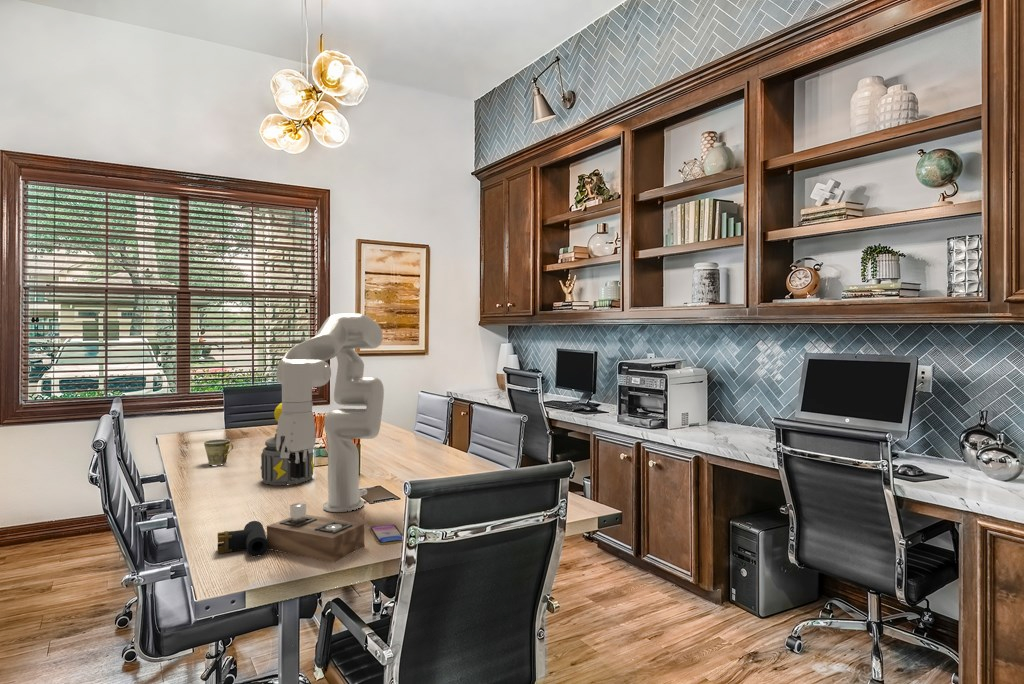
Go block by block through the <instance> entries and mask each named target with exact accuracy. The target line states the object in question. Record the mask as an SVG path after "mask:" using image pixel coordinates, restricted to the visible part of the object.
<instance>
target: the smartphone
mask: <svg viewBox="0 0 1024 684" xmlns="http://www.w3.org/2000/svg"><path fill="white" fill-rule="evenodd" d="M370 530H371V531H370ZM369 531H370V533H371V534H372V536H373V535H374V536H373V537H374V539H375V540H376V542H377V544H378V545H379V544H380V545H379V546H385V545H387V546H388V545H394V544H401V542H402V535H403V533H402V532H401V531H400V529H399V528H398V526H396V525H395V524H383V525H375V526H370V527H369ZM402 543H403V542H402Z"/></svg>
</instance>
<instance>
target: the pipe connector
mask: <svg viewBox="0 0 1024 684" xmlns="http://www.w3.org/2000/svg"><path fill="white" fill-rule="evenodd" d="M243 549H245V550H246V551H247V554H248V555H249V556H250V557H253V556H255V557H259V556H258V555H261V556H264V555H265V554H266V553H267V552H268V550H269V549H268V541H267V534H266V531H265V529H264V525H263V523H262V522H260V521H258V520H252V521H248V523H247V524H245V525H244V527H243V529H239V530H229V531H228V530H226V531H222V532H217V554H222V553H223V554H224V552H226V553H230V552H236V551H235V550H237V551H244V550H243Z"/></svg>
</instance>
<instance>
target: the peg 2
mask: <svg viewBox="0 0 1024 684" xmlns="http://www.w3.org/2000/svg"><path fill="white" fill-rule="evenodd" d="M341 527H342V525H340V524H331V525H328V526H326V529H329V530H333V531H334V530H337V529H339V528H341Z"/></svg>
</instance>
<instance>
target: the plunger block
mask: <svg viewBox="0 0 1024 684" xmlns="http://www.w3.org/2000/svg"><path fill="white" fill-rule="evenodd" d="M331 524H340V525H342V527H341V528H339V529H337V530H334V531H333V530H329V529H326V526H328V525H331ZM266 538H267V541H268V550H270V549H273V550H272V551H274V550H278V551H277V552H279V551H281V552H280V553H284V552H286V553H285V554H289V553H290V554H291V555H296V556H300V557H305V558H309V559H314V560H319V559H320V560H321V561H324V562H330V563H334V562H337V561H338V560H340V559H344V558H345V557H347V556H349V555H350V553H351V554H353V553H354V551H355V552H357V551H358V549H359V550H360V548H361V549H362V547H363V548H364V547H365V523H361V522H355V521H349V520H342V519H336V518H331V517H330V518H329V517H324V516H319V515H313V514H312V515H311V514H307V513H306V521H305V522H303V523H300V524H298V525H297V524H295V523H290V517H287V518H284V519H282V520H279V521H276V522H274V523H272V524H269V525H267V526H266ZM356 550H357V551H356ZM352 552H353V553H352ZM348 554H349V555H348ZM346 555H347V556H346Z"/></svg>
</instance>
